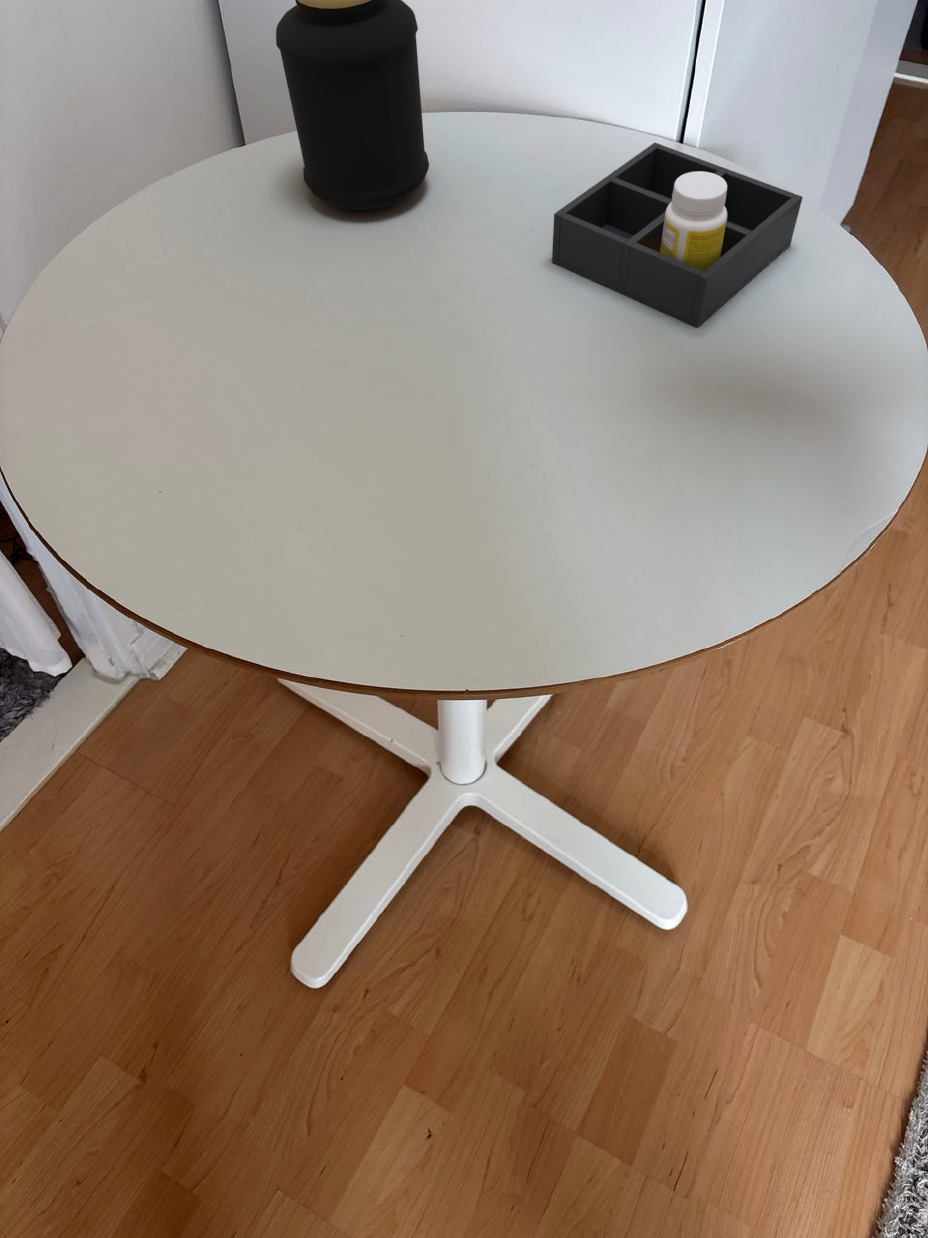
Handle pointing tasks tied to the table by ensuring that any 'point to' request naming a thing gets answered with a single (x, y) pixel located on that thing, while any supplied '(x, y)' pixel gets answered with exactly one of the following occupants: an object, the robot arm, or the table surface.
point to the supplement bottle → (696, 220)
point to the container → (355, 99)
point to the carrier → (633, 226)
